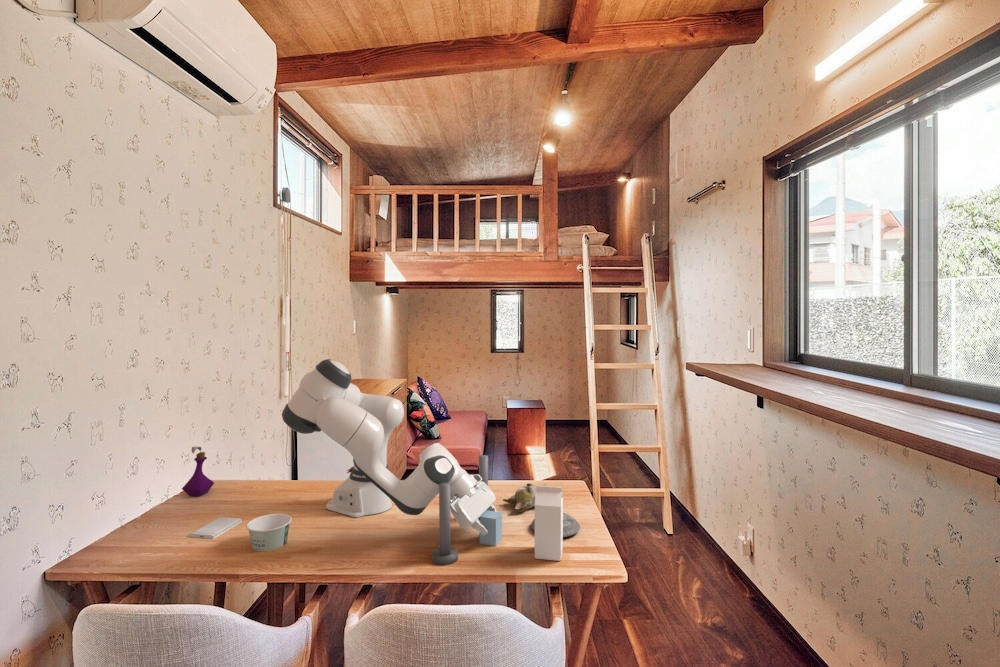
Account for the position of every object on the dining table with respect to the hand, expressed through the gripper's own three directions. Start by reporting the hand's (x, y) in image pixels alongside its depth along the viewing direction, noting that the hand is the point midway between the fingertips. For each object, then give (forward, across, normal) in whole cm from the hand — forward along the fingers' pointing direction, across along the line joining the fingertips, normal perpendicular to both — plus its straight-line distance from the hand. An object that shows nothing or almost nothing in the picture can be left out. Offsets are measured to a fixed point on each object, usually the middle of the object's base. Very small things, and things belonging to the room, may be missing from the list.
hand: (492, 526), depth 147 cm
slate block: (+3, 0, +4) cm, 5 cm away
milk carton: (+16, -2, -9) cm, 18 cm away
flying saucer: (+14, +14, -7) cm, 21 cm away
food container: (-40, -23, +46) cm, 65 cm away
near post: (-3, -14, +9) cm, 17 cm away
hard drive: (-56, -21, +63) cm, 86 cm away
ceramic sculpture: (+5, +28, +2) cm, 28 cm away
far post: (-3, +14, +9) cm, 17 cm away
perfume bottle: (-78, -1, +85) cm, 116 cm away
